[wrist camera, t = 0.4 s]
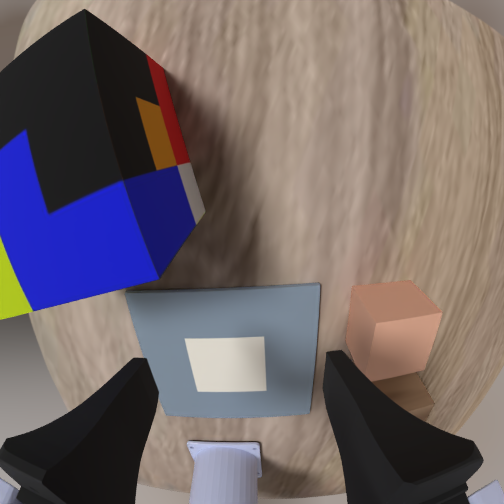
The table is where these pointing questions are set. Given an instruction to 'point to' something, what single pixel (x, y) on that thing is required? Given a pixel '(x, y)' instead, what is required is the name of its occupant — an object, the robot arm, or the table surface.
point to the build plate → (230, 348)
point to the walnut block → (408, 394)
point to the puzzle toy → (88, 169)
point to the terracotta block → (391, 329)
